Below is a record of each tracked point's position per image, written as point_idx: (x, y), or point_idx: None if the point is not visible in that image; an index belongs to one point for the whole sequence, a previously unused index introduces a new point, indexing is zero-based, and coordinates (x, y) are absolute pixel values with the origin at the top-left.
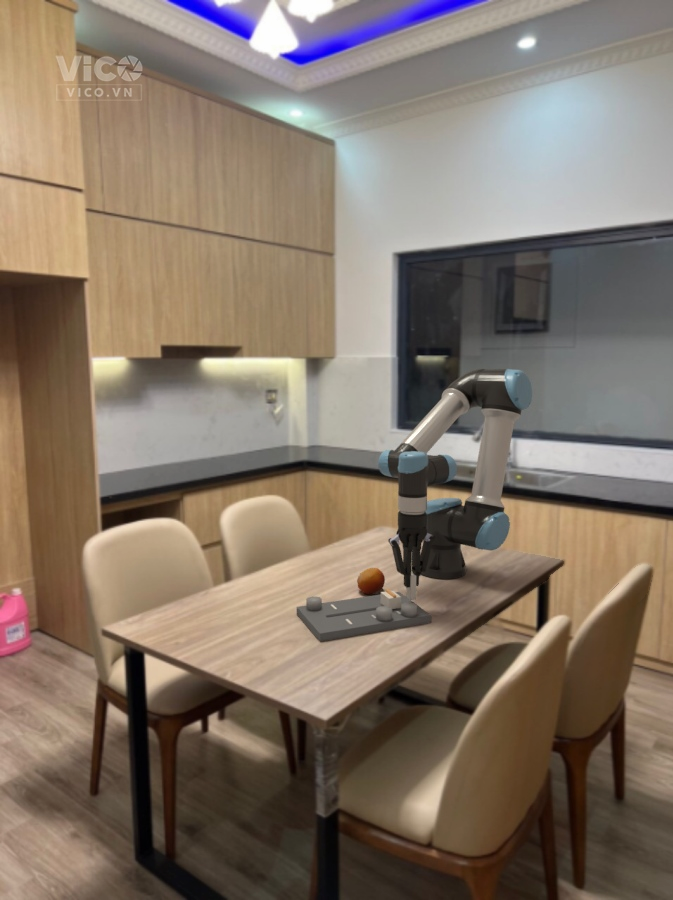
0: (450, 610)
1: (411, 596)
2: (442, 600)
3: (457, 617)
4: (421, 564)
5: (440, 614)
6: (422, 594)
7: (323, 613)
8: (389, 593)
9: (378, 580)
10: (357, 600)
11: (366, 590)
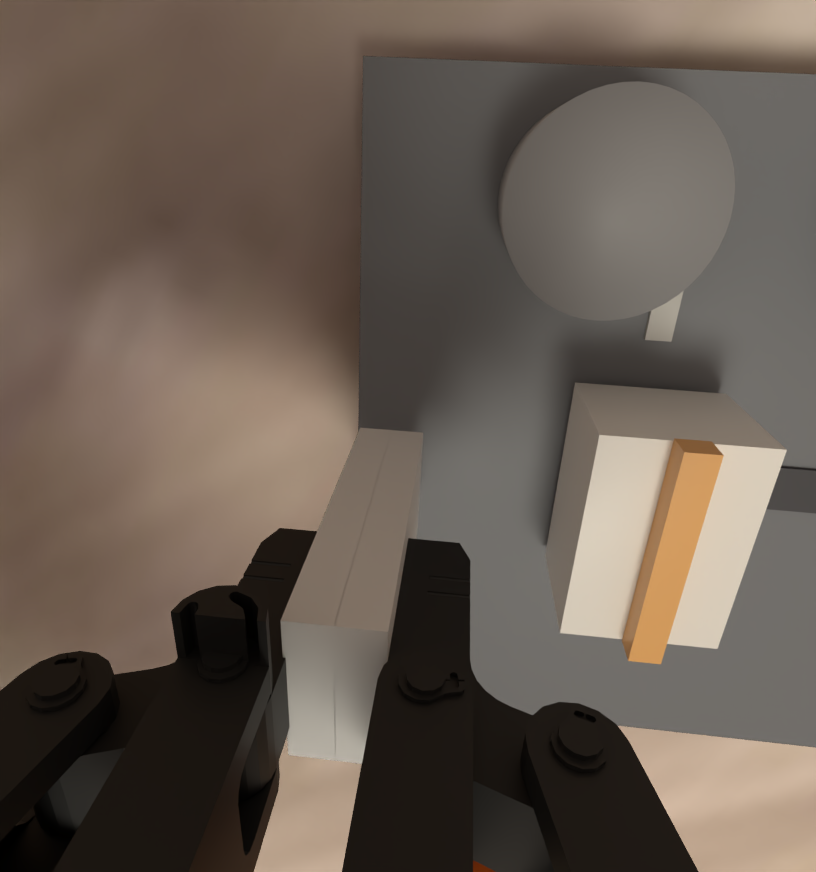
0: (59, 273)
1: (413, 452)
2: (51, 487)
3: (52, 77)
4: (26, 852)
5: (188, 229)
6: (159, 638)
7: None
8: (684, 562)
9: (474, 870)
10: (794, 701)
11: None
